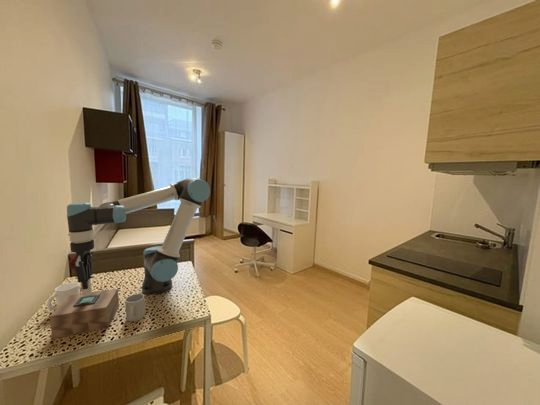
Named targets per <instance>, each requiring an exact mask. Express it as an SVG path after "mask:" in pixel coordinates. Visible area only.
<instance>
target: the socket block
mask: <svg viewBox="0 0 540 405" xmlns="http://www.w3.org/2000/svg"><path fill="white" fill-rule="evenodd" d="M88 297H95V299H94V300H93V301H92V302H86V303H80V302H81V301H82V299H83V298H88ZM119 302H120V301H119V289H118V288H112V289H107V290H106V289H105V290H98V291H92V294H91V295H89V296H82V293H80V294H76V295H70V296H69V297H68V298H67V299H66V300H65V301H64V302H63V303H62V304H61V305H60V306H59V307H58V308H57V309H56V310H53V313H51V314H50V315H49V323H50V332H51V339H57V338H61V337H66V336H72V335H78V334H83V333H88V332H94V331H99V330H103V329H104V330H105V329H108V328H109V327H110V325H111V323H112V321H113V320H114V318H115V315H116V313H117V311H118V309H119V308H120V304H119ZM79 303H80V304H79Z"/></svg>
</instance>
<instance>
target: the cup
mask: <svg viewBox="0 0 540 405" xmlns="http://www.w3.org/2000/svg"><path fill="white" fill-rule="evenodd" d="M124 305H125V308H124V309H125V319H126V321H127V322H130V323H132V322H134V323H135V322H137V321H140V320H142V319H143V318H144V317H145V315H146V304H145V294H144V293H134V294H131V295H128V296H127V297H126V298H125V300H124Z"/></svg>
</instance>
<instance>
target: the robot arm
mask: <svg viewBox="0 0 540 405" xmlns="http://www.w3.org/2000/svg"><path fill="white" fill-rule="evenodd" d="M210 194H211V187H210V185H209V183H208V182H207V181H206V180H204V179H201V178H192V177H191V178H190V177H189V178H185V179H182V180H180V181H176V182H173V183H171V184H170V185H169V186H165V187H162V188H158V189H154V190H150V191H147V192H144V193H140V194H136V195H132V196H130V197H125V198H121V199H117V200H114V201H109V202H104V203H102V204H100V205H98V206H92V204H91V203H90V202H74V203H73V202H72V203H70V204H68V205H67V206H66V218H67V226H68V227H67V228H68V234H67V236H68V237H69V241H70V243H69V246H70V252H72V253H75V255H76V260H77V261H76V262H74V263H73V265H74V267H75V270H74V271H75V275H76V279H77V283H80V286H81V285H82V289H81V294H82V296H89V295H91V294H92V292H93V291H92V281H91V279H93V278H94V276H93V257H94V252H93V251H92V250H94V249H95V241H94V240H95V239H94V236H95V235H94V226H97V225H110V224H119V223H124V222H125V221H127V214H131V213H133V212H137V211H139V210H143V209H147V208H149V207H153V206H156V205H160V204H163V203H166V202H167V203H168V202H170V201H173V200H174V201H180V204H179V206H178V208H177V211H176V213H175V216H174V217H173V220H172V222H171V225H170V227H169V230H168V231H167V233H166V236H165V238H164V241H163V242H162V245H159V246H158V245H157V246H152V247H147V248H145V249H144V250H143V255H142V256H143V267H144V268H143V269H144V271H143V272H144V278H143V282H142V285H141V292H142V294H143V295H149V296H150V295H151V296H152V295H158V294H161V293H165V292H167V291H169V290H170V289H171V288H172V287H173V278H175V277H176V275H177V273H178V272H179V271H178V270H179V266H178V263H179V260H180V257H181V255H180V252H179V251H180V249H181V247H182V245H183V243H184V240H185V238H186V235H187V233H188V230H189V229H190V226H191V224H192V222H193V219H194V216H195V214H196V212H197V209H199V208H201V207H202V205H203V203H204V202H205V201H206V200H207V199H209V197H210Z"/></svg>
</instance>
